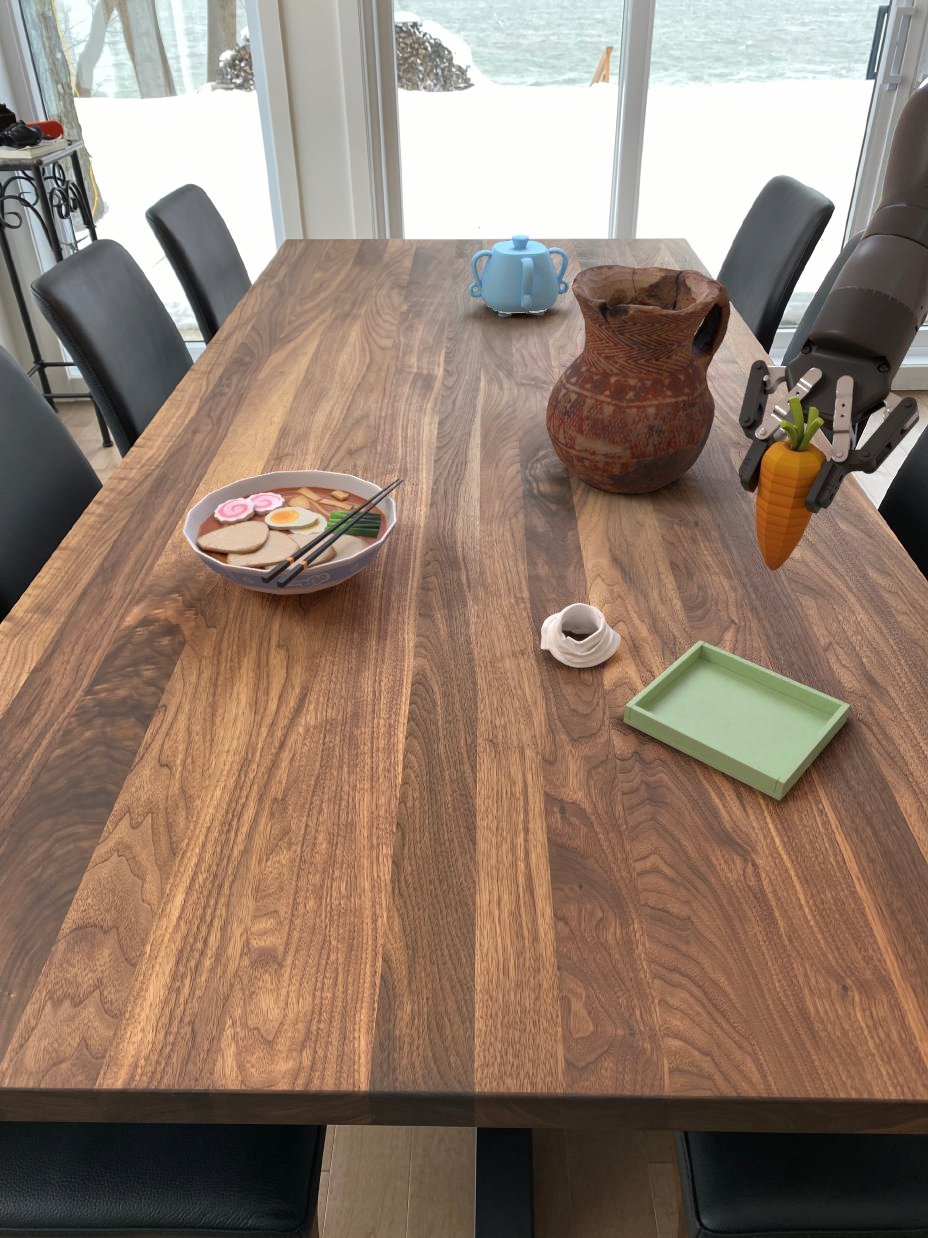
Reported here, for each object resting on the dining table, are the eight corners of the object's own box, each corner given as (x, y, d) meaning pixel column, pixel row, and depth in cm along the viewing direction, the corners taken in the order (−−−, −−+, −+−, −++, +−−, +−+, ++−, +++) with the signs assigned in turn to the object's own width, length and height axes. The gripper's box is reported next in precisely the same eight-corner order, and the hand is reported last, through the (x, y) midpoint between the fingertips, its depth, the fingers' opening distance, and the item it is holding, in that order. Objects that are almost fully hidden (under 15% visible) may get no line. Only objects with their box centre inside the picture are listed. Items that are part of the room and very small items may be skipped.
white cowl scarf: (615, 639, 100) (623, 597, 98) (621, 674, 94) (629, 630, 92) (538, 631, 100) (543, 589, 98) (539, 666, 94) (545, 622, 92)
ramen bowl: (281, 505, 122) (274, 445, 118) (441, 548, 114) (440, 484, 109) (141, 602, 104) (126, 535, 99) (318, 662, 95) (311, 592, 91)
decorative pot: (577, 309, 190) (582, 235, 182) (522, 327, 180) (525, 251, 172) (514, 292, 199) (517, 222, 191) (459, 309, 189) (459, 235, 182)
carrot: (806, 588, 80) (845, 417, 72) (744, 583, 81) (775, 413, 73) (798, 557, 85) (835, 392, 76) (740, 552, 85) (769, 388, 77)
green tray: (846, 722, 88) (850, 704, 87) (779, 801, 80) (784, 783, 79) (696, 656, 96) (699, 639, 95) (623, 722, 88) (625, 705, 87)
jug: (639, 526, 118) (663, 319, 104) (510, 472, 130) (516, 281, 116) (736, 468, 131) (769, 278, 117) (610, 425, 143) (626, 247, 129)
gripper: (781, 267, 79) (685, 453, 78) (964, 302, 71) (859, 508, 70) (797, 317, 85) (709, 490, 84) (967, 354, 77) (872, 544, 77)
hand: (778, 497), depth 77 cm, fingers closed on carrot, 5 cm apart
